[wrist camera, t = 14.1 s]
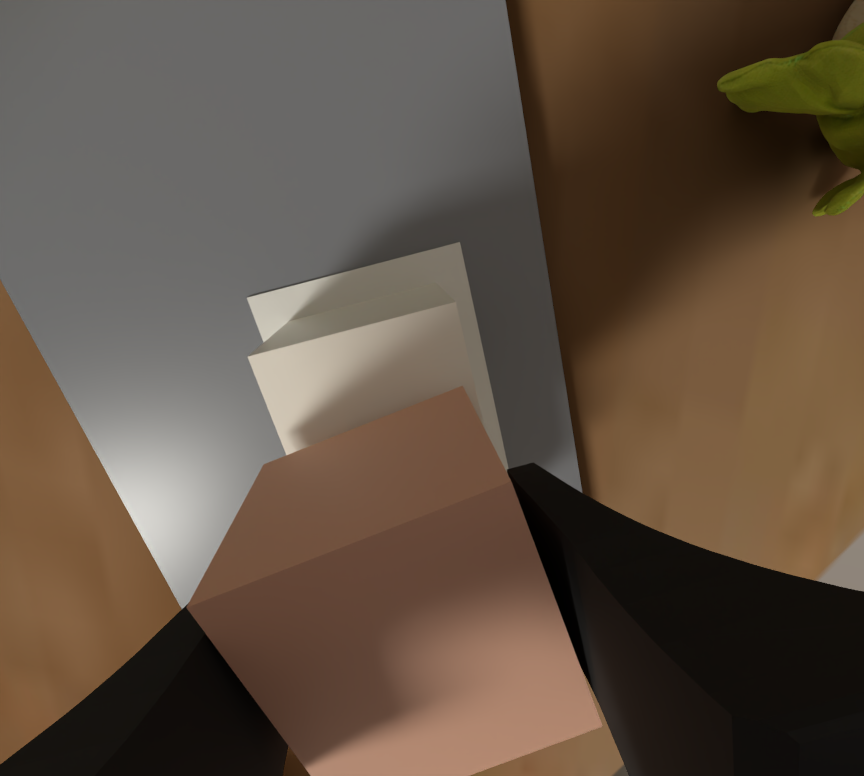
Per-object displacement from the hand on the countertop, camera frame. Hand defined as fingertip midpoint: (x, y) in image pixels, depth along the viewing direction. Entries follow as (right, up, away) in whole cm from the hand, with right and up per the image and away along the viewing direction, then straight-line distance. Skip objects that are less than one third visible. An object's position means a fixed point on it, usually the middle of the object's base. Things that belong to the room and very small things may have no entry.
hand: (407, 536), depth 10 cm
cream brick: (-1, +2, +6) cm, 6 cm away
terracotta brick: (0, 0, +1) cm, 1 cm away
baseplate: (-3, +4, +6) cm, 8 cm away
